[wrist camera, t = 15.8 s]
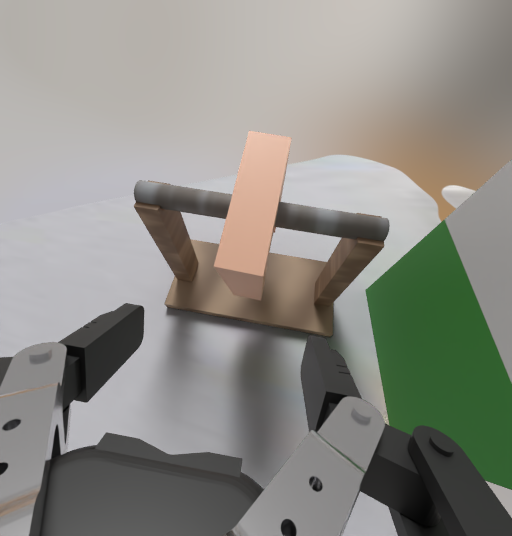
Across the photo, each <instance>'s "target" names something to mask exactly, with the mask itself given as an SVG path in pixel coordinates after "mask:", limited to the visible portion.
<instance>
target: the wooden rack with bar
mask: <svg viewBox="0 0 512 536" xmlns="http://www.w3.org/2000/svg"><path fill="white" fill-rule="evenodd" d="M134 197H135V200H136V203H135V205H134V208H135V209H136V211H137V213H138V214H139V216H140V218H141V219H142V221H143V223H144V224H145V226H146V228H147V230H148V231H149V233H150V235H151V236H152V238H153V240H154V241H155V243H156V245H157V246H158V248H159V250H160V251H161V253H162V255H163V256H164V258H165V260H166V261H167V263H168V265H169V266H170V268H171V270H172V271H173V273H174V275H175V277H174V280H173V282H172V285H171V288H170V290H169V293H168V296H167V298H166V301H165V305H166V306H167V307H170V308H175V309H180V310H186V311H191V312H197V313H202V314H208V315H213V316H219V317H224V318H230V319H235V320H240V321H246V322H251V323H257V324H262V325H268V326H273V327H279V328H284V329H290V330H295V331H300V332H306V333H311V334H317V335H322V336H328V337H330V336H332V335H333V302H334V301H335V300H336V299H337V298H338V297H339V296H340V294H341V293H342V292H343V291H344V290H345V289H346V288H347V287H348V286H349V285H350V283H351V282H352V281H353V280H354V279H355V278H356V277H357V276H358V275H359V274H360V273H361V271H362V270H363V269H364V268H365V267H366V266H367V265H368V264H369V263H370V262H371V261H372V259H373V258H374V257H375V256H376V255H377V254H378V253H379V252H380V251H381V250H382V249H383V247H384V240H385V239H386V237H387V235H388V231H389V220H388V219H387V218H381V217H380V216H374V215H367V214H361V213H356V214H355V213H348V212H342V211H335V210H329V209H322V208H316V207H309V206H303V205H296V204H290V203H284V202H279V206H278V211H277V216H276V221H275V226H274V227H279V228H286V229H292V230H298V231H304V232H311V233H317V234H323V235H329V236H335V237H342V239H341V240H340V242H339V244H338V245H337V247H336V249H335V250H334V252H333V254H332V255H331V257H330V259H329V260H328V262H323V261H317V260H311V259H305V258H299V257H293V256H287V255H281V254H275V253H269V255H268V261H267V268H266V276H265V283H264V288H263V293H262V298H261V301H260V300H256V299H251V298H246V297H241V296H236V295H233V293H232V292H231V290H230V289H229V288H228V286H227V285H226V283H225V282H224V280H223V279H222V278H221V276H220V275H219V273H218V272H217V270H216V269H215V268H214V263H215V260H216V256H217V252H218V248H219V244H215V243H209V242H203V241H197V240H191V239H190V237H189V235H188V232H187V229H186V226H185V224H184V221H183V218H182V215H181V212H186V213H192V214H198V215H205V216H211V217H217V218H223V219H226V217H227V214H228V210H229V206H230V202H231V198H232V194H225V193H219V192H213V191H206V190H200V189H193V188H187V187H180V186H174V185H170V184H167V183H159V182H154V181H142V180H140V181H138V182H137V184H136V185H135V189H134Z"/></svg>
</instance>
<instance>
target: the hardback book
mask: <svg viewBox="0 0 512 536" xmlns="http://www.w3.org/2000/svg"><path fill="white" fill-rule="evenodd" d="M366 296H367V301H368V307H369V312H370V318H371V324H372V329H373V335H374V341H375V346H376V352H377V357H378V363H379V369H380V374H381V380H382V386H383V391H384V397H385V403H386V408H387V414H388V419H389V425H390V426H392V427H394V428H396V429H398V430H401V431H403V432H405V433H408V434H410V435H412V432H413V430H414V428H415V427H417V426H420V425H424V426H429V427H432V428H434V429H437V430H439V431H440V432H442V433H444V434H445V435H447V436H448V437H450V438H451V439H452V440H453V441H455V442H456V443H457V444H458V445H459V446H460V447H461V448H462V450H463V451H464V452H465V453H466V455H467V456H468V458H469V459H470V460H471V462H472V463H473V465H474V466H475V467H476V469H477V470H478V472H479V473H480V474H481V476H482V477H483V479H484V480H485V481H488V482H491V483H494V484H497V485H500V486H502V487H505V488H508V489H511V490H512V160H510V161H509V162H508V163H507V164H506V165H505V166H504V167H503V168H501V169H500V170H499V171H498V172H497V173H496V174H495V175H494V176H493V177H491V178H490V179H489V180H488V181H487V182H486V183H485V184H484V185H483V186H481V187H480V188H479V189H478V190H477V191H476V192H475V193H474V194H472V195H471V196H470V197H469V198H468V199H467V200H466V201H465V202H464V203H462V204H461V205H460V206H459V207H458V208H457V209H456V210H455V211H454V212H452V213H451V214H450V215H449V216H448V217H447V218H446V219H445V220H443V221H442V222H441V223H440V224H439V225H438V226H437V227H436V228H435V229H433V230H432V231H431V232H430V233H429V234H428V235H427V236H426V237H424V238H423V239H422V240H421V241H420V242H419V243H418V244H417V245H416V246H414V247H413V248H412V249H411V250H410V251H409V252H408V253H407V254H406V255H404V256H403V257H402V258H401V259H400V260H399V261H398V262H397V263H395V264H394V265H393V266H392V267H391V268H390V269H389V270H388V271H387V272H385V273H384V274H383V275H382V276H381V277H380V278H379V279H378V280H376V281H375V282H374V283H373V284H372V285H371V286H370V287H369V288H368V289H366Z"/></svg>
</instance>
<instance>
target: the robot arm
mask: <svg viewBox="0 0 512 536" xmlns="http://www.w3.org/2000/svg"><path fill="white" fill-rule="evenodd" d="M143 334H144V308H143V306H139V305H134V304H128V303H126V304H124V305H122V306H121V307H119V308H118V309H116V310H115V311H111V312H109V313H106V314H103V315H100V316H99V317H97V318H95V319H94V320H92V321H91V323H88V324H86V325H84V326H83V328H82V327H81V328H80V329H78V330H77V331H75V332H74V333H72V334H70V335H69V336H67V337H66V338H64V339H63V340H61V341H60V342H58V343H56V342H48V343H41V344H37V345H33V346H30V347H28V348H25V349H23V350H21V351H20V352H18V353H17V354H16V355H15V356H14V357H2V358H0V536H342V534H343V532H344V529H345V527H346V524H347V522H348V520H349V517H350V515H351V512H352V510H353V507H354V505H355V502H356V500H357V498H358V495H359V493H360V491H361V492H363V493H365V494H367V495H368V496H370V497H372V498H374V499H376V500H377V501H379V502H381V503H383V504H385V505H387V506H388V507H389V510H390V513H391V516H392V519H393V522H394V525H395V528H396V531H397V534H398V536H512V518H511V517H510V515H509V514H508V512H507V511H506V509H505V508H504V507H503V505H502V504H501V502H500V501H499V500H498V498H497V497H496V495H495V494H494V493H493V491H492V490H491V489H490V487H489V486H488V484H487V483H486V482H485V480H484V479H483V477H482V476H481V474H480V473H479V472H478V470H477V469H476V467H475V466H474V465H473V463H472V462H471V460H470V459H469V458H468V456H467V455H466V453H465V452H464V451H463V450H462V448H461V447H460V446H459V445H458V444H457V443H456V442H455V441H453V440H452V439H451V438H450V437H448V436H447V435H445V434H444V433H442V432H440V431H439V430H437V429H434V428H432V427H429V426H424V425H420V426H417V427H415V428H414V430H413V432H412V435H410V434H408V433H405V432H403V431H401V430H398V429H396V428H394V427H392V426H389V425H387V424H385V422H384V419H383V417H382V415H381V414H380V412H379V411H378V410H377V409H376V408H375V407H374V406H373V405H371V404H370V403H368V402H367V401H365V400H363V399H362V398H361V396H360V394H359V392H358V389H357V387H356V385H355V383H354V381H353V378H352V376H351V375H350V372H349V369H348V368H347V365H346V363H345V361H344V358H343V357H342V356H341V355H340V354H339V353H338V352H337V351H336V350H330V348H329V345H328V343H327V340H326V338H323V337H318V336H312V335H309V336H308V339H307V343H306V347H305V351H304V356H303V360H302V364H301V381H302V388H303V394H304V401H305V407H306V414H307V420H308V427H309V433H308V435H307V436H306V437H305V439H304V440H303V441H302V442H301V444H300V445H299V446H298V447H297V449H296V450H295V451H294V452H293V454H292V455H291V456H290V458H289V459H288V460H287V461H286V463H285V464H284V465H283V466H282V468H281V469H280V470H279V472H278V473H277V474H276V475H275V477H274V478H273V479H272V480H271V482H270V483H269V484H268V486H267V487H266V488H265V489H264V490H263V489H262V487H261V486H260V485H258V484H257V483H256V482H255V481H254V480H253V479H251V478H250V477H248V476H247V475H245V474H243V473H242V472H241V464H242V459H241V458H236V457H230V456H225V455H220V454H215V453H210V452H205V453H191V454H178V455H170V454H167V453H165V452H163V451H161V450H159V449H157V448H155V447H154V446H152V445H150V444H148V443H146V442H144V441H142V440H140V439H137V438H132V437H127V436H122V435H117V434H112V433H106V434H105V435H104V436H103V438H102V439H101V440H100V442H99V443H98V445H94V446H88V447H83V448H79V449H76V450H72V451H70V452H67V449H68V438H69V427H70V416H71V405H70V403H71V402H72V401H73V400H76V401H81V402H88V401H89V400H90V399H91V398H92V397H93V396H94V395H95V394H96V393H97V391H98V390H99V389H100V388H101V387H102V386H103V385H104V384H105V383H106V382H107V381H108V380H109V379H110V378H111V377H112V376H113V374H114V373H115V372H116V371H117V370H118V369H119V368H120V367H121V366H122V365H123V364H124V363H125V362H126V361H127V360H128V359H129V357H130V356H131V355H132V354H133V353H134V352H135V351H136V350H137V349H138V348H139V346H140V345H141V343H142V340H143Z"/></svg>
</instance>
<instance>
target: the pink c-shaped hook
mask: <svg viewBox="0 0 512 536" xmlns="http://www.w3.org/2000/svg"><path fill="white" fill-rule="evenodd" d="M290 144H291V137H285V136H278V135H272V134H266V133H260V132H253V131H249V133H248V137H247V141H246V145H245V148H244V152H243V156H242V160H241V164H240V168H239V171H238V175H237V179H236V183H235V187H234V191H233V194H232V198H231V202H230V206H229V210H228V214H227V217H226V221H225V225H224V229H223V233H222V237H221V240H220V244H219V248H218V252H217V256H216V260H215V263H214V268H215V269H216V270H217V272H218V273H219V275H220V276H221V278H222V279H223V280H224V282H225V283H226V285H227V286H228V288H229V289H230V290H231V292H232V293H233V295H236V296H241V297H246V298H251V299H256V300H260V301H261V298H262V293H263V288H264V283H265V276H266V268H267V261H268V255H269V250H270V245H271V241H272V236H273V232H274V233H275V229H276V227H274V226H275V221H276V216H277V211H278V206H279V202H281V196H282V190H283V185H284V179H285V173H286V167H287V161H288V156H289V150H290Z"/></svg>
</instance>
